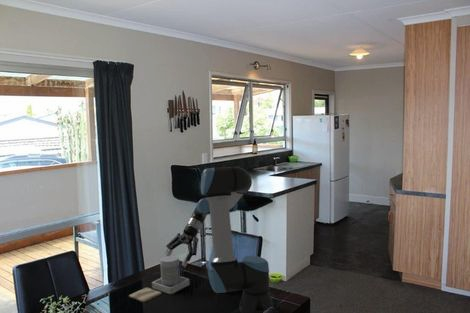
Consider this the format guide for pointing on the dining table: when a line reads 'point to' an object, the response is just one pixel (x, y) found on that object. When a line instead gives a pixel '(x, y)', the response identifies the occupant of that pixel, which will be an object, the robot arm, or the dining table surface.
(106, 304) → the dining table surface
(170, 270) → the supplement tub
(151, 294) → the birch board
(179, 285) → the grey square frame
